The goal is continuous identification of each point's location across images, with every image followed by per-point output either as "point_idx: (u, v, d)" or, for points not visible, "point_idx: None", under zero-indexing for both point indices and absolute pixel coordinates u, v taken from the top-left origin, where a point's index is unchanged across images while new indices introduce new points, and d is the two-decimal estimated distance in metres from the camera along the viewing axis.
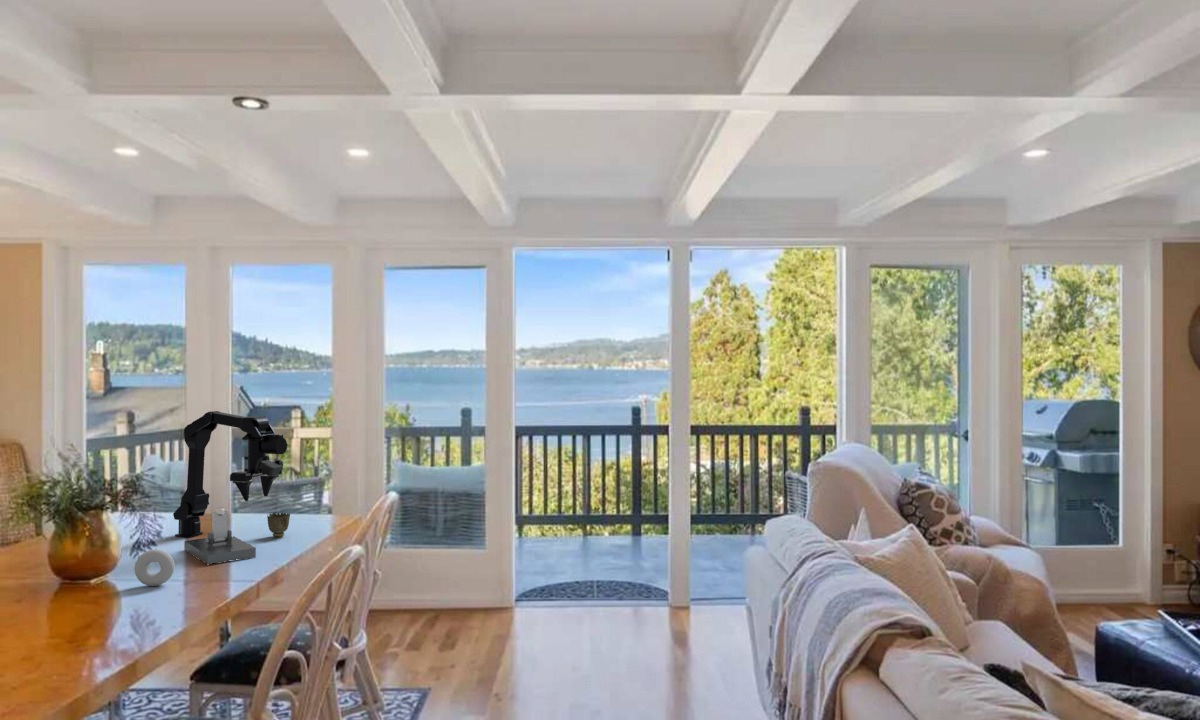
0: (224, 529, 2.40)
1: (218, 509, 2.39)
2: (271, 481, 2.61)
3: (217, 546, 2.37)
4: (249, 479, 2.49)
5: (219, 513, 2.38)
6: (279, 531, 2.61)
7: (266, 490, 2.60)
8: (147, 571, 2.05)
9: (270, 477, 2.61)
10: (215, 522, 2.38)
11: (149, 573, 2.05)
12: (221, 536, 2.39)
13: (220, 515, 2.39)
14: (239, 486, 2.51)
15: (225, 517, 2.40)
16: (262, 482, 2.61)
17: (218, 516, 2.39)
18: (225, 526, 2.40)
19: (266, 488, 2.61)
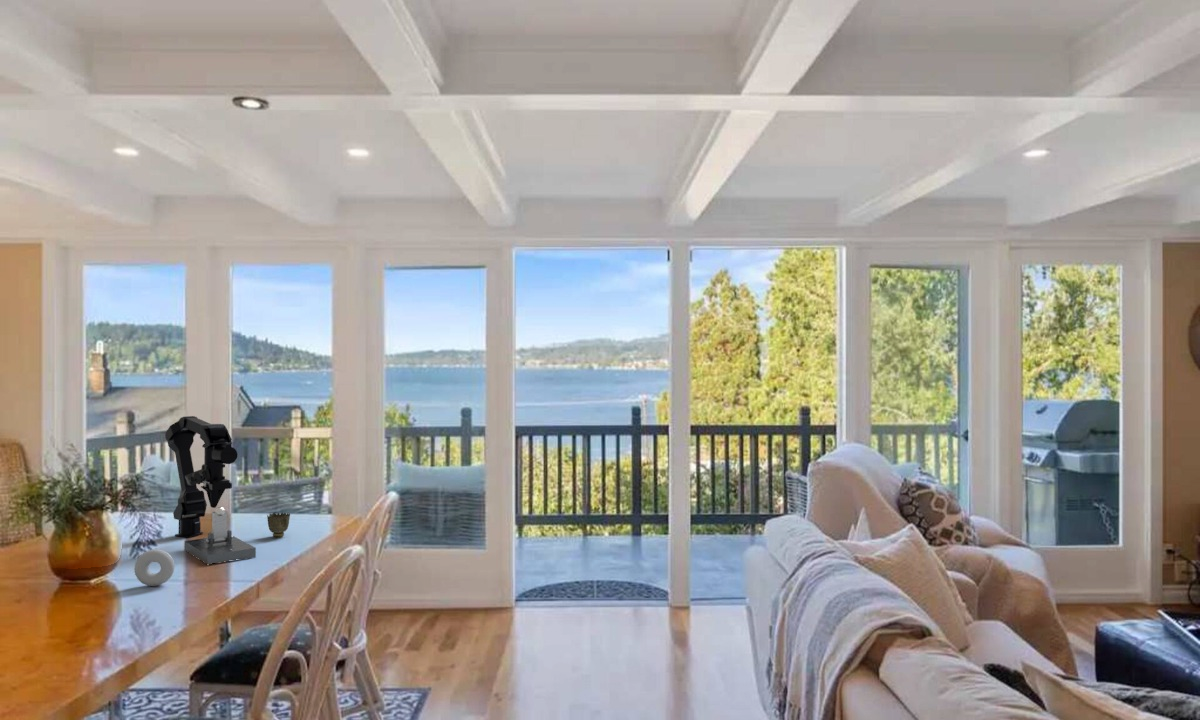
0: (224, 529, 2.40)
1: (218, 509, 2.39)
2: (210, 493, 2.52)
3: (217, 546, 2.37)
4: (197, 482, 2.57)
5: (219, 513, 2.38)
6: (279, 531, 2.61)
7: None
8: (147, 571, 2.05)
9: None
10: (215, 522, 2.38)
11: (149, 573, 2.05)
12: (221, 536, 2.39)
13: (220, 515, 2.39)
14: None
15: (225, 517, 2.40)
16: None
17: (218, 516, 2.39)
18: (225, 526, 2.40)
19: None
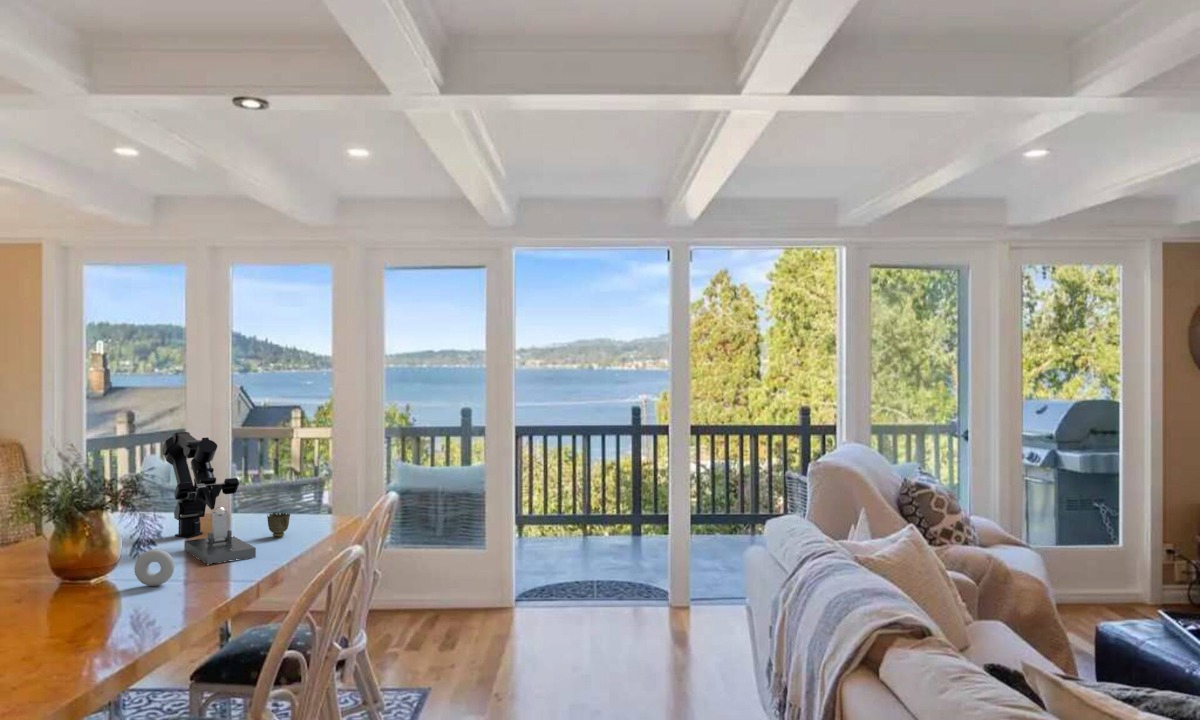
0: (224, 529, 2.40)
1: (218, 509, 2.39)
2: None
3: (217, 546, 2.37)
4: None
5: (219, 513, 2.38)
6: (279, 531, 2.61)
7: None
8: (147, 571, 2.05)
9: None
10: (215, 522, 2.38)
11: (149, 573, 2.05)
12: (221, 536, 2.39)
13: (220, 515, 2.39)
14: None
15: (225, 517, 2.40)
16: None
17: (218, 516, 2.39)
18: (225, 526, 2.40)
19: None
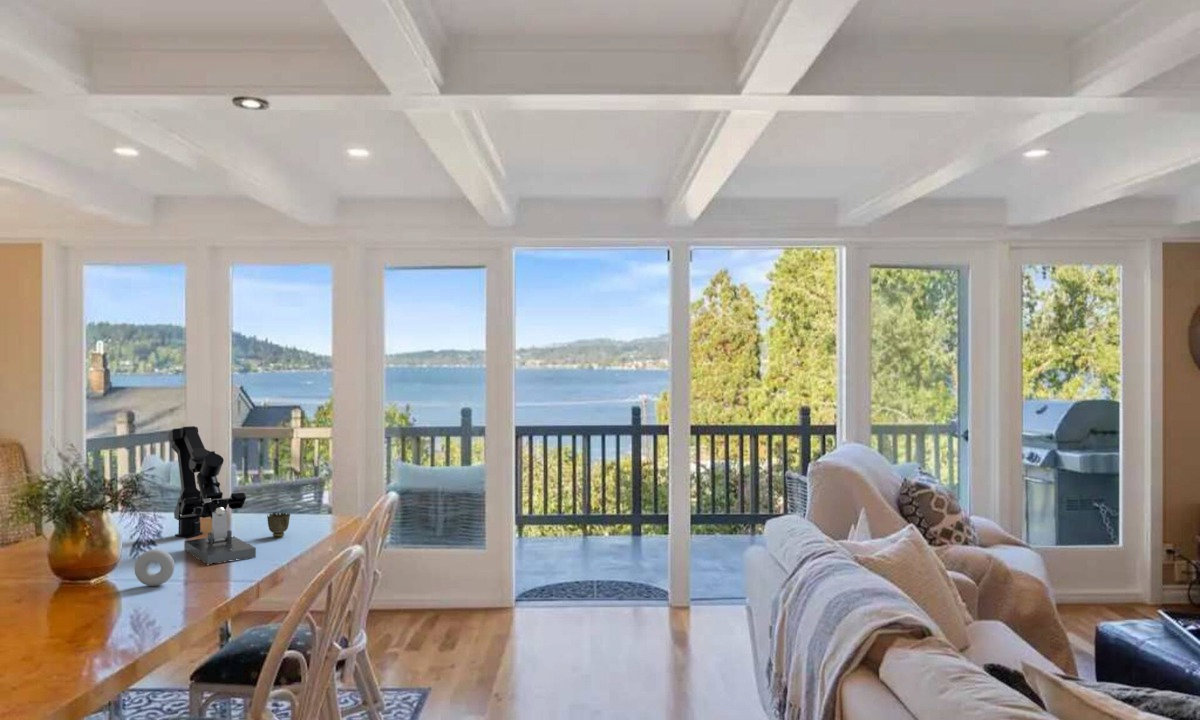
0: (224, 529, 2.40)
1: (218, 509, 2.39)
2: None
3: (217, 546, 2.37)
4: None
5: (219, 513, 2.38)
6: (279, 531, 2.61)
7: None
8: (147, 571, 2.05)
9: None
10: (215, 522, 2.38)
11: (149, 573, 2.05)
12: (221, 536, 2.39)
13: (220, 515, 2.39)
14: None
15: (225, 517, 2.40)
16: None
17: (218, 516, 2.39)
18: (225, 526, 2.40)
19: None
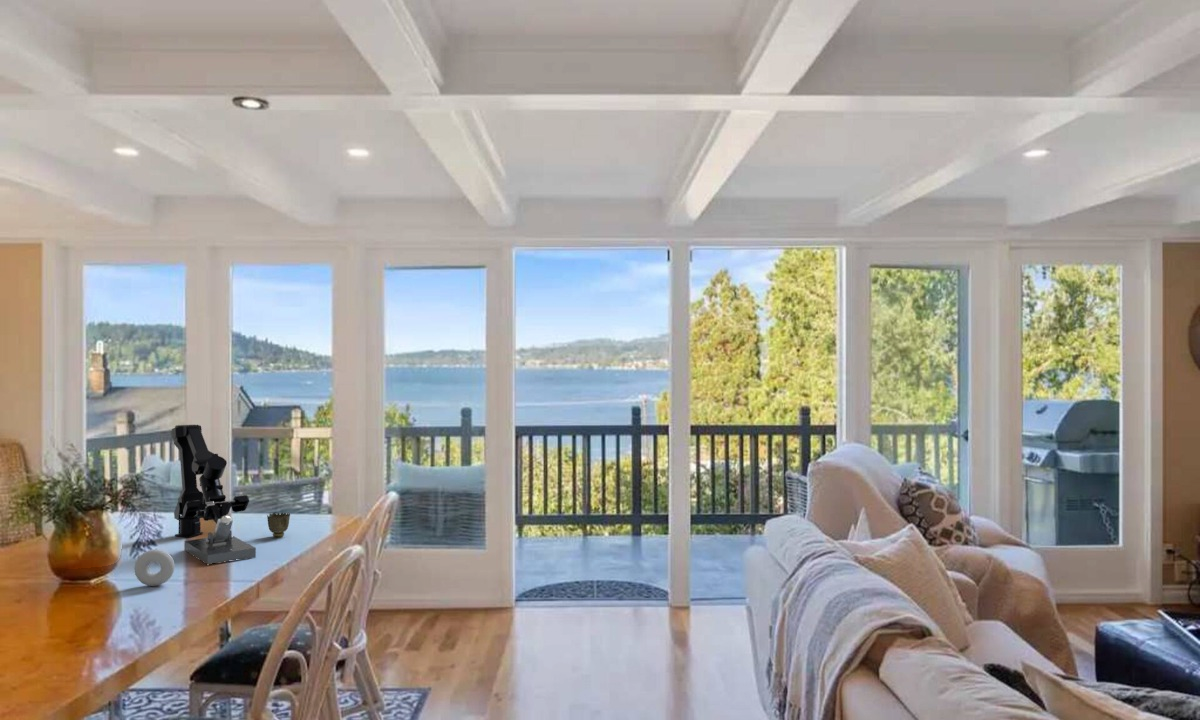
0: (226, 533, 2.39)
1: (224, 520, 2.34)
2: None
3: (217, 546, 2.37)
4: None
5: (224, 524, 2.35)
6: (279, 531, 2.61)
7: None
8: (147, 571, 2.05)
9: None
10: (218, 529, 2.36)
11: (149, 573, 2.05)
12: (221, 538, 2.39)
13: (225, 524, 2.35)
14: None
15: (229, 525, 2.37)
16: None
17: (223, 525, 2.36)
18: (227, 531, 2.39)
19: None
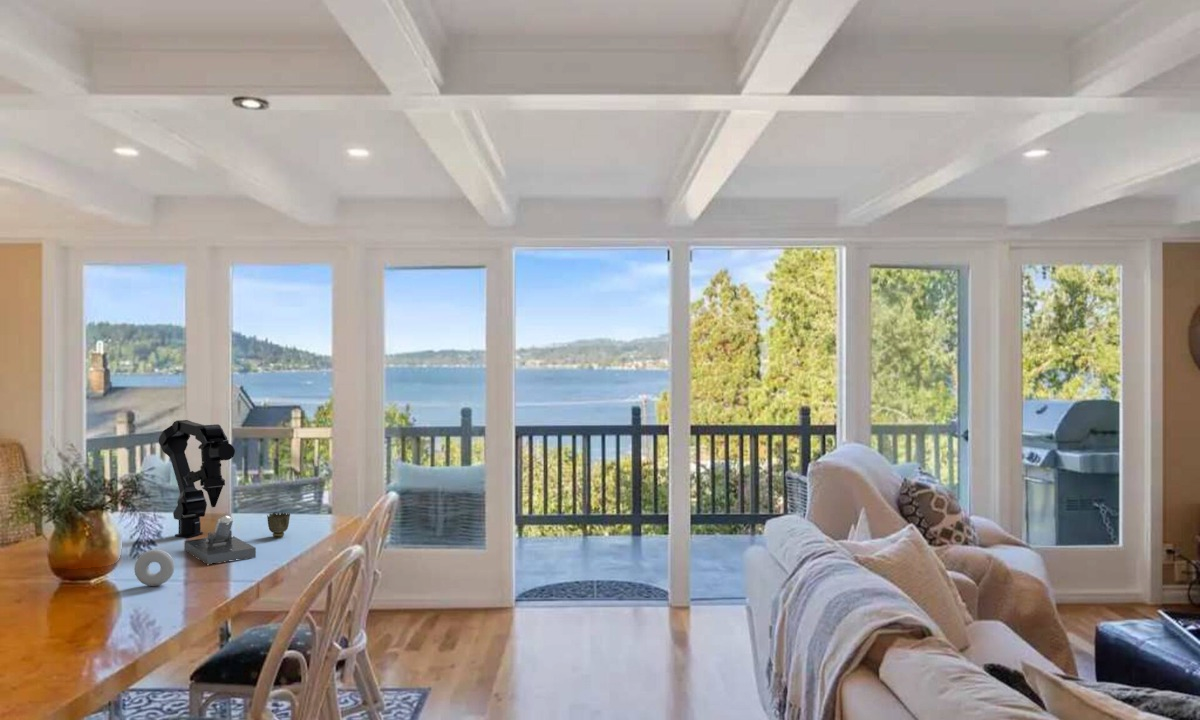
0: (226, 533, 2.39)
1: (224, 520, 2.34)
2: (207, 492, 2.54)
3: (217, 546, 2.37)
4: (200, 484, 2.60)
5: (224, 524, 2.35)
6: (279, 531, 2.61)
7: None
8: (147, 571, 2.05)
9: None
10: (218, 529, 2.36)
11: (149, 573, 2.05)
12: (221, 538, 2.39)
13: (225, 524, 2.35)
14: None
15: (229, 525, 2.37)
16: None
17: (223, 525, 2.36)
18: (227, 531, 2.38)
19: None
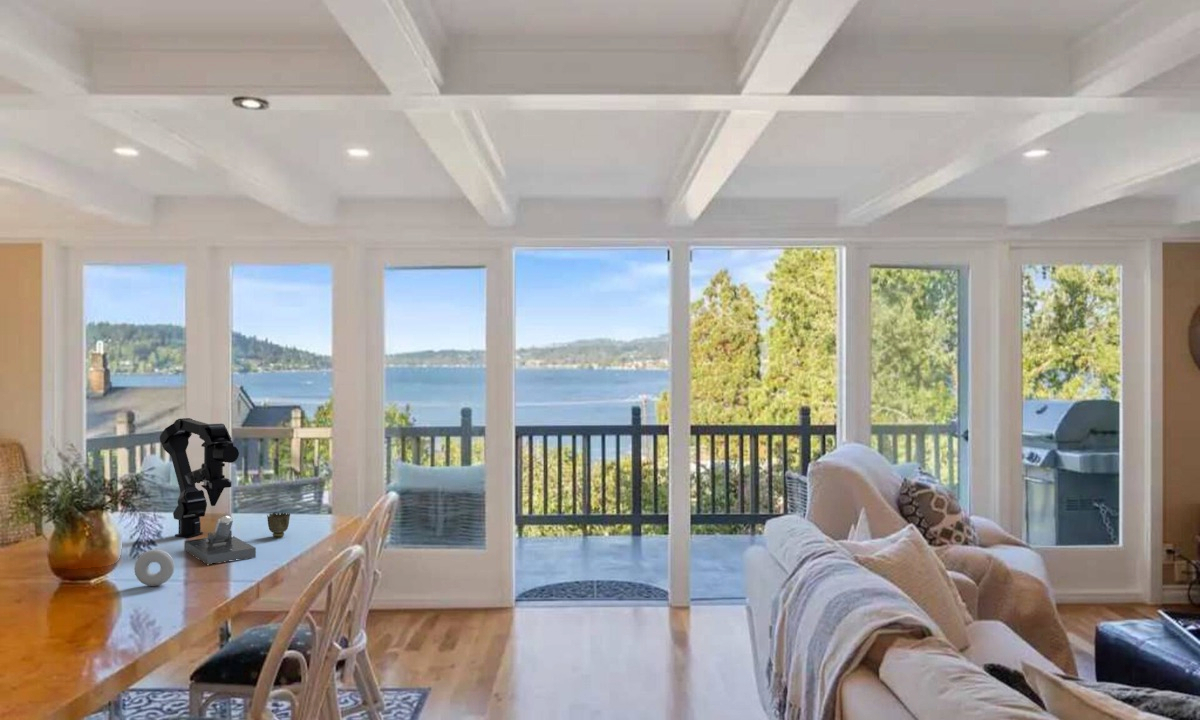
0: (226, 533, 2.39)
1: (224, 520, 2.34)
2: (209, 491, 2.55)
3: (217, 546, 2.37)
4: (197, 481, 2.59)
5: (224, 524, 2.35)
6: (279, 531, 2.61)
7: None
8: (147, 571, 2.05)
9: None
10: (218, 529, 2.36)
11: (149, 573, 2.05)
12: (221, 538, 2.39)
13: (225, 524, 2.35)
14: None
15: (229, 525, 2.37)
16: None
17: (223, 525, 2.36)
18: (227, 531, 2.38)
19: None
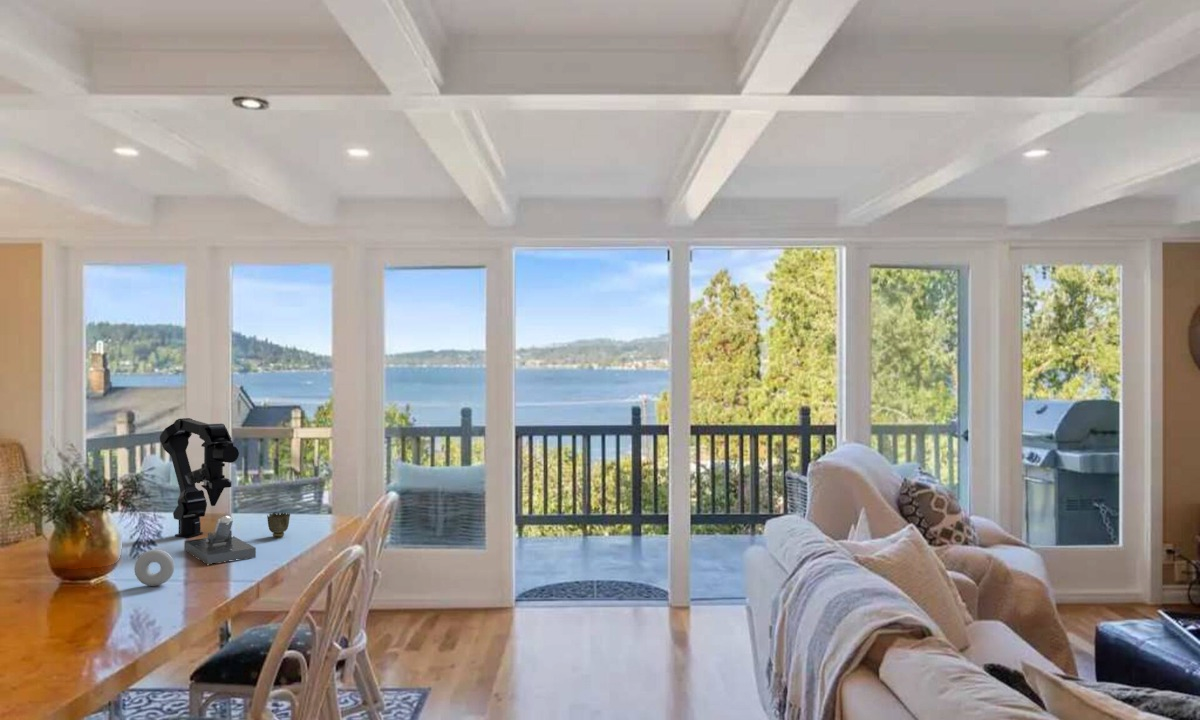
0: (226, 533, 2.39)
1: (224, 520, 2.34)
2: (209, 491, 2.55)
3: (217, 546, 2.37)
4: (197, 481, 2.59)
5: (224, 524, 2.35)
6: (279, 531, 2.61)
7: None
8: (147, 571, 2.05)
9: None
10: (218, 529, 2.36)
11: (149, 573, 2.05)
12: (221, 538, 2.39)
13: (225, 524, 2.35)
14: None
15: (229, 525, 2.37)
16: None
17: (223, 525, 2.36)
18: (227, 531, 2.38)
19: None
